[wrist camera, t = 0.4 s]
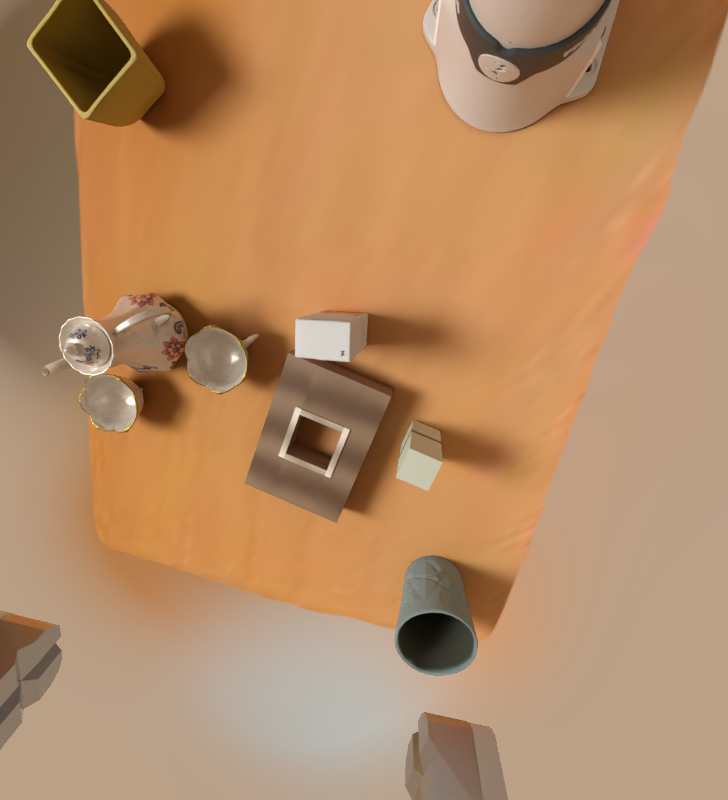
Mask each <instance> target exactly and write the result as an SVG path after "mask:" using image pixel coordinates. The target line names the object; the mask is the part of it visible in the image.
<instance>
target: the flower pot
mask: <svg viewBox="0 0 728 800" xmlns="http://www.w3.org/2000/svg"><path fill="white" fill-rule="evenodd" d="M27 46H28V48H29V49H30V51H31V52H32V53H33V55H34V56H35V57H36V58H37V60H38V61H39V62H40V64H41V65H42V66H43V67H44V69H45V70H46V71H47V72H48V74H49V75H50V76H51V78H52V79H53V80H54V82H55V83H56V84H57V85H58V87H59V88H60V90H61V91H62V92H63V93H64V95H65V96H66V97H67V99H68V100H69V101H70V103H71V104H72V105H73V107H74V108H75V109H76V110H77V112H78V113H79V114H80V115H81V117H82V118H84V119H87V120H91V121H95V122H99V123H103V124H107V125H112V126H127V125H131V124H133V123H135V122H136V121H138V120H139V119H141V118H142V117H143V116H144V115H145V113H146V112H147V111H148V110H149V109H150V108H151V106H152V105H153V104H154V103H155V102H156V101H157V100H158V99H159V97H160V96H161V95H162V94H163V93H164V91H165V81H164V79H163V77H162V75H161V74H160V73H159V71H158V70H157V69H156V67H155V66H154V65H153V63H152V62H151V61H150V59H149V58H148V56H147V55H146V54H145V52H144V51H143V50H142V48H141V47H140V45H139V44H138V43H137V41H136V40H135V38H134V37H133V36H132V34H131V33H130V31H129V30H128V28H127V27H126V25H125V24H124V23H123V21H122V20H121V19H120V17H119V16H118V15H117V14H116V12H115V11H114V10H113V9H112V8H111V7H110V6H109V5H108V4H107V3H106V2H105V1H104V0H57V1H56V2H55V4H54V5H53V7H52V8H51V10H50V11H49V12H48V14H47V15H46V16H45V18H44V19H43V20H42V21H41V22H40V24H39V25H38V26H37V28H36V29H35V30H34V32H33V33H32V34H31V36H30V38H29V40H28V42H27Z"/></svg>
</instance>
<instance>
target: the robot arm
mask: <svg viewBox="0 0 728 800" xmlns="http://www.w3.org/2000/svg"><path fill="white" fill-rule="evenodd" d="M619 2H620V0H432V2H431V4H430V6H429V8H428V10H427V12H426V13H425V16H424V19H423V25H422V29H423V33H424V36H425V38H426V40H427V42H428V44H429V46H430V48H431V49H432V51H433V52H434V54H435V58H436V62H437V69H438V76H439V81H440V85H441V88H442V91H443V94H444V96H445V98H446V100H447V102H448V104H449V105H450V107H451V108H452V109H453V111H454V112H455V113H456V114H457V115H458V116H459V117H460V118H461V119H462V120H464V121H465V122H466V123H468V124H469V125H471V126H473V127H475V128H478V129H481V130H484V131H489V132H509V131H514V130H518V129H521V128H523V127H526V126H528V125H530V124H532V123H534V122H536V121H537V120H539V119H540V118H542V117H543V116H544V115H546V114H547V113H548V112H550V111H551V110H552V109H554V108H555V107H557V106H558V105H560V104H563V103H567V102H571V101H574V100H577V99H580V98H582V97H584V96H586V95H587V94H588V93H589V92H590V91H591V90H592V88H593V86H594V84H595V82H596V79H597V76H598V73H599V69H600V66H601V62H602V59H603V56H604V52H605V49H606V46H607V42H608V39H609V35H610V32H611V29H612V25H613V22H614V19H615V15H616V12H617V8H618V5H619ZM588 67H589V68H590V71H589V72H586V70H587V69H588ZM60 637H61V634H60V626H59V625H55V624H51V623H47V622H43V621H39V620H35V619H31V618H27V617H23V616H19V615H15V614H12V613H8V612H4V611H0V749H1V748H2V747H3V745H4V744H5V743H6V742H7V740H8V739H9V738H10V737H11V735H12V734H13V733H14V732H15V730H16V729H17V728H18V726H19V725H20V724H21V723H22V715H23V709H24V708H26V707H28V706H29V705H31V704H33V703H35V702H36V701H38V700H39V699H40V698H41V697H42V696H43V694H44V693H45V692H46V691H47V689H48V688H49V687H50V685H51V683H52V682H53V680H54V678H55V676H56V674H57V672H58V670H59V667H60V663H61V660H62V651H61V649H60V648H59V647H58V646H57V644H56V641H57V640H58V639H59V638H60ZM418 730H419V731H418V732H416V733H414V734H413V735H412V737H411V740H410V742H409V746H408V751H407V757H406V770H405V771H406V772H405V776H406V777H405V778H406V780H405V781H406V783H405V785H406V788H407V790H408V792H409V794H410V796H411V798H412V800H508V798H507V792H506V788H505V783H504V778H503V773H502V768H501V763H500V758H499V753H498V748H497V743H496V738H495V734H494V732H493V730H492V729H491V728H489V727H487V726H482V725H478V724H473V723H469V722H467V721H462V720H458V719H454V718H449V717H444V716H440V715H435V714H430V713H426V712H424V713H423V714H422V715H421V717H420V719H419V721H418Z"/></svg>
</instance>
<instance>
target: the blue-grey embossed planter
mask: <svg viewBox="0 0 728 800" xmlns="http://www.w3.org/2000/svg"><path fill="white" fill-rule="evenodd" d="M402 596H403V598H402V603H401V606H400V612H399V618H398V623H397V628H396V633H395V646H396V649H397V652H398V654H399V655H400V657H401V658H402V659H403V661H404V662H406V663H407V664H408V665H409V666H411V667H412V668H413V669H415V670H417V671H420V672H422V673H425V674H429V675H435V676H438V675H439V676H440V675H441V676H442V675H448V674H453V673H457V672H459V671H461V670H463V669H465V668H466V667H467V666H468V665H470V664H471V662H472V661H473V659H474V658H475V656H476V653H477V648H478V642H477V637H476V633H475V629H474V626H473V622H472V618H471V614H470V612H469V611H468V610H469V606H468V602H467V598H466V595H465V591H464V585H463V581H462V577H461V574H460V572H459V570H458V569H457V567H456V566H455V565H454V564H453V563H452V562H450V561H449V560H447V559H445V558H442V557H439V556H425V557H421V558H419V559H417V560H415V561H414V562H412V563H411V565H410V566H409V567H408V569H407V571H406V574H405V580H404V587H403V595H402Z"/></svg>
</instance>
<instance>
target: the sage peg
mask: <svg viewBox="0 0 728 800" xmlns="http://www.w3.org/2000/svg"><path fill="white" fill-rule="evenodd" d="M441 444H442V442H441V435H440V431H439V430H437V429H434V428H432V427H430V426H427V425H425V424H423V423H420V422H418V421H415V420H412V422H411V424H410V427H409V429H408V431H407V433H406V435H405V437H404V440H403V442H402V444H401V449H400V455H399V462H398V468H397V475H396V478H398V479H401V480H403V481H405V482H408V483H410V484H412V485H415V486H417V487H420V488H422V489H424V490H427V491H428V490H429V488H430V486H431V484H432V482H433V480H434V478H435V477H436V475H437V473H438V471H439V469H440V467H441V465H442V463H443V460H442V448H441Z"/></svg>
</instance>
